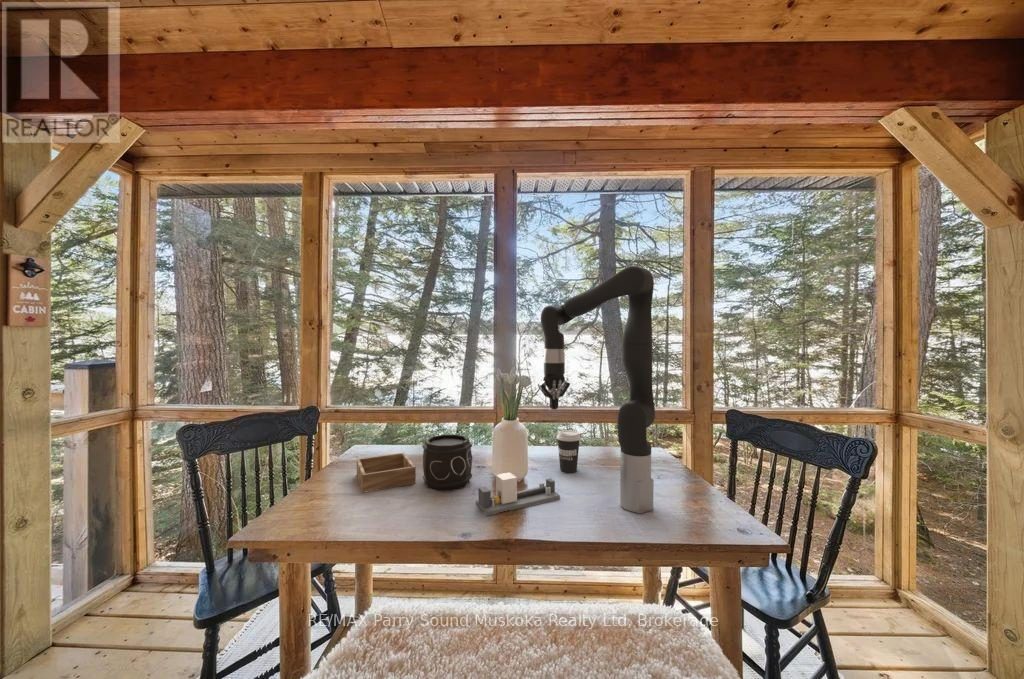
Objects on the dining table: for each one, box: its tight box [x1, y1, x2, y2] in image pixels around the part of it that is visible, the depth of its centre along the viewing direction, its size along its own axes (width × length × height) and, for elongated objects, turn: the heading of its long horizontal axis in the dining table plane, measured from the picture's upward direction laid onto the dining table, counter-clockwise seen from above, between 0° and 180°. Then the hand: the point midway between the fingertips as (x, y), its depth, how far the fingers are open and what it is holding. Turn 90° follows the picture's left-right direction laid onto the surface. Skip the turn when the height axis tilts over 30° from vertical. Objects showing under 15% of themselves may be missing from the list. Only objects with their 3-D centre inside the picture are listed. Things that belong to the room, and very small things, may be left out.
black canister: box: [421, 433, 473, 492], centre depth 144 cm, size 18×18×16 cm
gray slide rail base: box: [475, 478, 561, 516], centre depth 128 cm, size 26×9×6 cm, turn 117°
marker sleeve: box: [495, 472, 518, 504], centre depth 126 cm, size 5×5×8 cm
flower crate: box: [356, 452, 417, 493], centre depth 148 cm, size 19×18×6 cm
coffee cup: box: [556, 429, 582, 474], centre depth 156 cm, size 10×10×15 cm
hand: (554, 408), depth 143 cm, fingers closed
